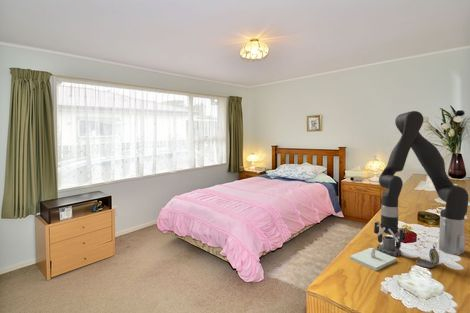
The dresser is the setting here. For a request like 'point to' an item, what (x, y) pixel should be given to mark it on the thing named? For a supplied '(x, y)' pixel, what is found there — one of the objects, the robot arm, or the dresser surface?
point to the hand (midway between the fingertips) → (388, 245)
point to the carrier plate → (373, 259)
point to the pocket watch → (432, 254)
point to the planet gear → (389, 246)
